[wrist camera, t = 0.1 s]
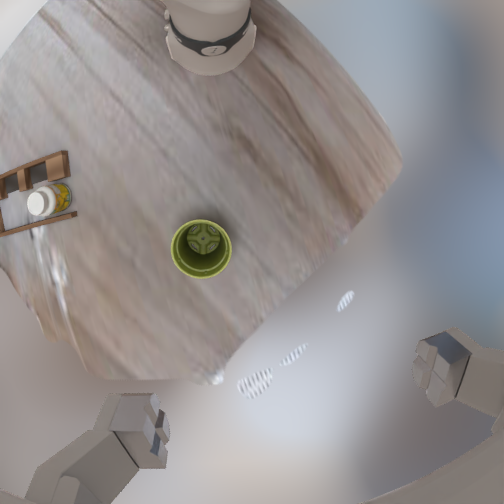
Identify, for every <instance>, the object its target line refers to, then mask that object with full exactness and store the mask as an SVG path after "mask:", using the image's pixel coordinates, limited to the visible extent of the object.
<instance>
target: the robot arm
mask: <svg viewBox="0 0 504 504" xmlns="http://www.w3.org/2000/svg"><path fill="white" fill-rule="evenodd" d="M159 1H161V2H162V3H164V4H165V6H166V7H167V9H165V14H164V17H165V20H169V21H170V22H169V23H170V24H167V25H165V28H164V29H165V32H166V31H168V33H167V37H166V42H167V46H168V49H169V52H170V55H171V58H172V59H173V60H174V61H176V62H177V63H179V64H180V65H181V66H182V67H184V68H185V69H187V70H188V71H190V72H193V73H195V74H199V75H204V76H214V75H220V74H223V73H226V72H229V71H231V70H233V69H234V68H236V67H237V66H238V65H239V64H240V63H241V62H242V61H243V60H244V59H245V58H246V57H247V55H248V54H249V53H250V51H251V50H252V49H253V48H254V42H255V36H256V30H257V28H256V25H254V24H253V21H252V19H251V8H250V3H251V0H159ZM416 353H417V354H418V356H417V358H416V359H415V360H414V362H413V367H412V373H413V378H414V380H415V382H416V384H417V385H418V387H419V388H422V389H425V390H426V396H427V398H428V399H429V400H430V401H431V402H432V404H433V405H434V406H435V407H438V406H441V405H443V404H445V403H447V402H449V401H451V400H453V399H455V398H456V400H457V401H459V402H461V403H464V404H466V405H468V406H470V407H473V408H475V409H477V410H480V411H482V412H484V413H486V414H488V415H491V416H493V417H496V418H497V419H496V421H495V423H494V424H493V426H492V429H491V432H492V433H493V435H492V436H491V437H489V438H488V439H486V440H485V441H484V442H482V443H480V444H479V445H478V446H476V447H475V448H473V449H471V450H470V451H468V452H467V453H465V454H463V455H462V456H460V457H458V458H457V459H455V460H454V461H452V462H450V463H448V464H446V465H445V466H443V467H441V468H440V469H437V470H436V471H434V472H432V473H430V474H428V475H426V476H424V477H422V478H420V479H418V480H416V481H414V482H411V483H409V484H407V485H405V486H403V487H400V488H398V489H396V490H393V491H391V492H388V493H386V494H383V495H381V496H378V497H376V498H373V499H370V500H367V501H364V502H361V503H359V504H504V351H501V350H496V349H492V348H488V347H486V348H484V349H483V348H482V347H481V346H480V345H478V344H477V343H476V342H475V341H473V340H472V339H470V337H468V336H467V335H466V334H464V333H463V332H462V331H461V330H459V329H458V328H455V327H452V328H450V329H447V330H445V331H443V332H441V333H438V334H436V335H434V336H431V337H428V338H425V339H422V340H420V341H419V342H418V344H417V346H416ZM159 407H160V401H159V399H158V396H157V395H156V394H154V393H137V394H136V393H132V394H130V393H128V394H127V393H124V394H108V395H107V396H106V398H105V400H104V403H103V405H102V408H101V410H100V412H99V415H98V417H97V420H96V422H95V425H94V428H93V430H88V431H87V432H85V433H84V434H82V435H81V436H80V437H78V438H77V439H76V440H74V441H73V442H72V443H70V444H69V445H68V446H66V447H65V448H64V449H62V450H61V451H59V452H58V453H57V454H55V455H54V456H52V457H51V458H50V459H49V460H47V461H46V462H44V463H43V464H41V465H40V466H39V467H37V469H36V471H35V474H34V476H33V478H32V481H31V483H30V486H29V489H28V491H27V493H26V496H25V498H21V497H19V496H16V495H14V494H12V493H9V492H7V491H5V490H3V489H0V504H111V502H112V501H113V500H114V499H115V498H116V497H117V495H118V494H119V493H120V492H121V491H122V490H123V489H124V487H125V486H126V485H127V484H128V483H129V482H130V480H131V479H132V478H133V477H134V476H135V474H136V473H137V472H138V471H139V468H141V469H165V468H166V462H167V453H168V451H167V450H166V448H165V446H164V445H165V444H166V443H167V442H168V441H169V437H170V429H169V423H168V419H167V417H166V414H165V413H164V412H163V411H162V410H160V409H159Z"/></svg>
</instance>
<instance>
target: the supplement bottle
mask: <svg viewBox="0 0 504 504" xmlns="http://www.w3.org/2000/svg"><path fill="white" fill-rule="evenodd" d="M70 202H71V192H70V189H69V188H68V187H67V186H66V185H65V184H53V185H48V186H42V187H40V188H38V189H37V190H36V191H35V192H33V193H32V194H31V195H30V196H29V198H28V201H27V206H28V209H29V211H30V213H31V214H33V215H40V216H49V215H51V214H54V213H57V212H60V211H63V210H65V209H66V208H67V207H68V206H69V205H70Z"/></svg>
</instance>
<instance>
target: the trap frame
mask: <svg viewBox="0 0 504 504" xmlns="http://www.w3.org/2000/svg"><path fill="white" fill-rule="evenodd" d="M69 176H70V169H69V161H68V152H67V151H59V152H56V153H53V154H51V155H48V156H45V157H42V158H40V159H37V160H35V161H32V162H30V163H27V164H25V165H22V166H20V167H17V168H15V169H13V170H10V171H8V172H6V173H4V174H1V175H0V200H3V199H5V198H8V193H11V192H13V191H16V190H20V192H21V191H26V190H29V189H32V188H33V185H32V184H35V183H38V182H41V181H44V180H47V179H48V182H51V181H56V180H59V179H62V178H66V177H69ZM75 216H77V211H76V212H72V213H68V214H64V215H61V216H57V217H53V218H49V219H46V220H42V221H38V222H35V223H31V224H28V225H24V226H21V227H18V228H14V229H11V230H8V231H5V229H4V224H3V219H2V214H1V209H0V237H3V236H6V235H9V234H13V233H16V232H20V231H23V230H27V229H30V228H34V227H38V226H41V225H45V224H49V223H53V222H56V221H60V220H64V219H68V218H72V217H75Z"/></svg>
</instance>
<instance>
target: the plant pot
mask: <svg viewBox="0 0 504 504" xmlns="http://www.w3.org/2000/svg"><path fill="white" fill-rule="evenodd" d="M195 226H197V228H196V229H195V230H194V231H193V232H192V229H193V228H194V227H195ZM210 226H211V227H213V228H214V229H215V232H214V231H213V230H212V229H211V228H210ZM202 237H204V238H205V239H204V240H202ZM192 244H193V245H194V246H195V247H196V248H197V249H195V248H193V246H192ZM214 244H215V246H214V247H213V249H211V250H210V249H209V248H211V247H212V246H213V245H214ZM231 253H232V245H231V241H230V238H229V236H228V235H227V233H226V232H225V230H224V229H223V228H222V227H220V226H219V225H218V224H216V223H214V222H212V221H209V220H204V219H197V220H192V221H189V222H187V223H185V224H184V225H182V226H181V227H180V228H179V229H178V230H177V231H176V233H175V234H174V236H173V239H172V242H171V255H172V259H173V261H174V263H175V265H176V266H177V267H178V269H179V270H180V271H182V272H183V273H184V274H186V275H188V276H190V277H193V278H198V279H205V278H210V277H213V276H215V275H217V274H219V273H220V272H221V271H223V270H224V269H225V267H226V266H227V264H228V263H229V261H230V258H231Z"/></svg>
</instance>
